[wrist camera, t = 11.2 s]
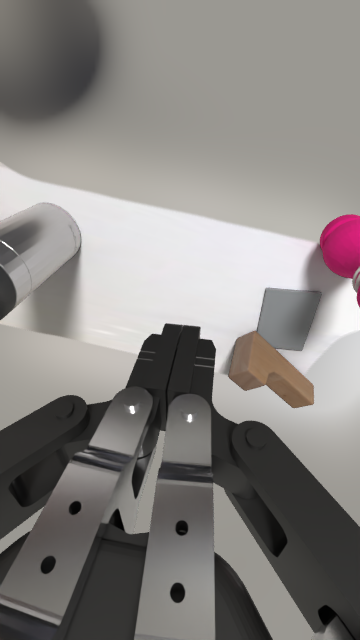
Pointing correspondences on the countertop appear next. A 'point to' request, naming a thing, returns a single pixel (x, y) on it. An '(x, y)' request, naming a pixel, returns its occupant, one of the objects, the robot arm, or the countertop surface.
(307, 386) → the wooden block
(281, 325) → the grey mat
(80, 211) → the countertop surface
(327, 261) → the pepper mill
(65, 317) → the countertop surface
